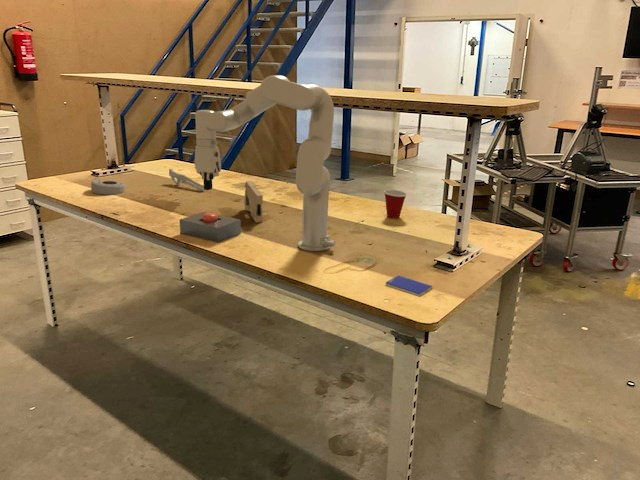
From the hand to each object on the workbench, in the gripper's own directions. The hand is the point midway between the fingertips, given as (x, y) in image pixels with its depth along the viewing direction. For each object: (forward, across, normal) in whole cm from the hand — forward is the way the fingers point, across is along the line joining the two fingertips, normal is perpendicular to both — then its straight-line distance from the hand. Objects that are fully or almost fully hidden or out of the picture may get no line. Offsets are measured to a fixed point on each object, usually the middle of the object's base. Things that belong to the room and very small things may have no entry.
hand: (208, 189), depth 205 cm
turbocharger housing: (+20, +92, -23) cm, 97 cm away
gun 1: (+19, +67, -55) cm, 89 cm away
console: (+18, 0, 0) cm, 19 cm away
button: (+13, 0, 0) cm, 14 cm away
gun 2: (+19, +2, -31) cm, 36 cm away
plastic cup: (+18, -52, -68) cm, 88 cm away
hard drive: (+18, -88, +5) cm, 90 cm away
